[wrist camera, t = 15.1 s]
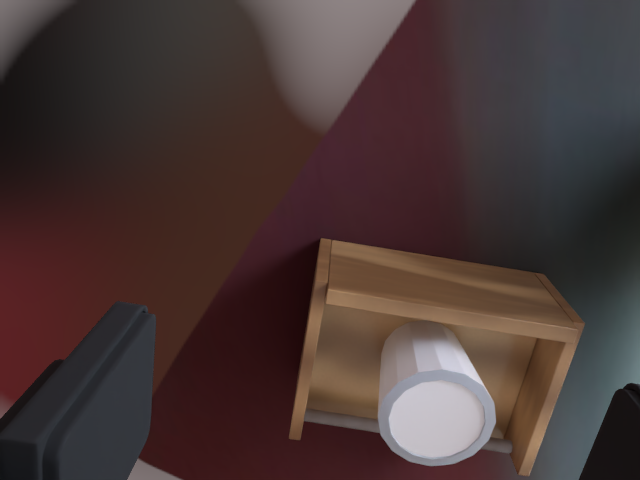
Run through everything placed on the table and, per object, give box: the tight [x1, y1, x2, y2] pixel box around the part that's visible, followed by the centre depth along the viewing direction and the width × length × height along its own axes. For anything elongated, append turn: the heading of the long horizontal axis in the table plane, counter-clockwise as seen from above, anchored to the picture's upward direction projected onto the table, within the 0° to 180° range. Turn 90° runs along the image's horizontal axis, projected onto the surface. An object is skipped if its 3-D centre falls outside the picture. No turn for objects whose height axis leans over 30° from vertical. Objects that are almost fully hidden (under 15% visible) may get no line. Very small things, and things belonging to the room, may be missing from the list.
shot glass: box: [378, 320, 496, 466], centre depth 35 cm, size 7×7×7 cm
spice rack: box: [289, 238, 585, 476], centre depth 38 cm, size 12×17×8 cm
